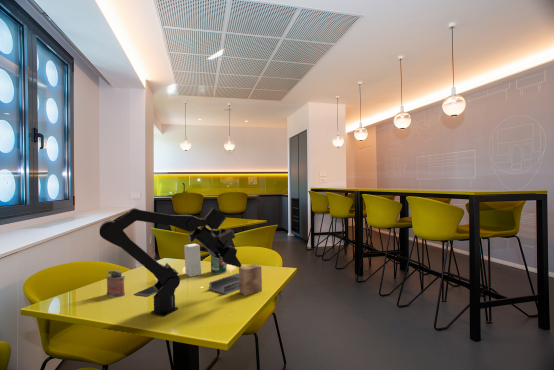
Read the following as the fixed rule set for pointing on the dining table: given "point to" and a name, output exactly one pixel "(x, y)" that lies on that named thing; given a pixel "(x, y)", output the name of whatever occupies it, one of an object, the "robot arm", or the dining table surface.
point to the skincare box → (192, 259)
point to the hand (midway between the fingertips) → (236, 263)
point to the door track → (225, 284)
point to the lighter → (115, 283)
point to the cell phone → (146, 292)
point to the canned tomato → (217, 266)
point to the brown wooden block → (250, 279)
